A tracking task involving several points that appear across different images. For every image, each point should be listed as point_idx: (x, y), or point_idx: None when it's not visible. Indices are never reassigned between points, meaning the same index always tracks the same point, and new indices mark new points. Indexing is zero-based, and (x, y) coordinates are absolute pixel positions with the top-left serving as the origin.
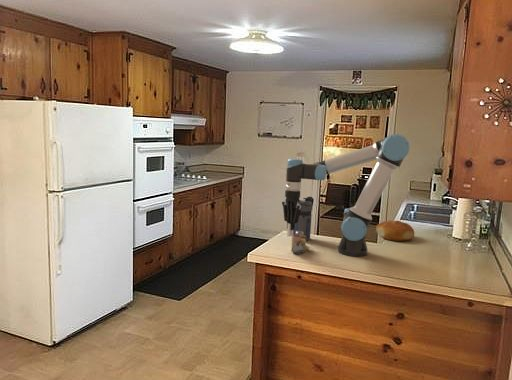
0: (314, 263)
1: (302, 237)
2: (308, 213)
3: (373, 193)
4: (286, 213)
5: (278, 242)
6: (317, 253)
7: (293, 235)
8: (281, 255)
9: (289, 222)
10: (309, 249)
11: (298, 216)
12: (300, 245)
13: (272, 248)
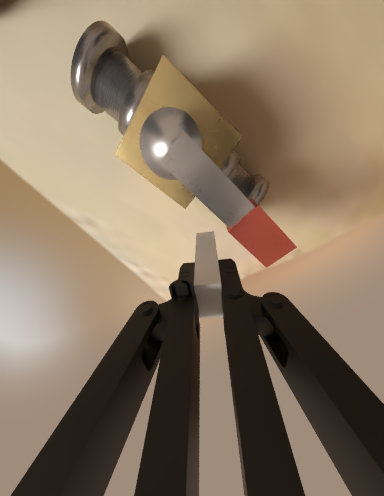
0: (367, 206)
1: (202, 135)
2: None
3: None
4: (131, 402)
5: (59, 171)
6: (288, 82)
7: (139, 167)
8: (226, 256)
9: (197, 309)
10: (207, 76)
11: (352, 382)
12: (260, 199)
13: (144, 241)
